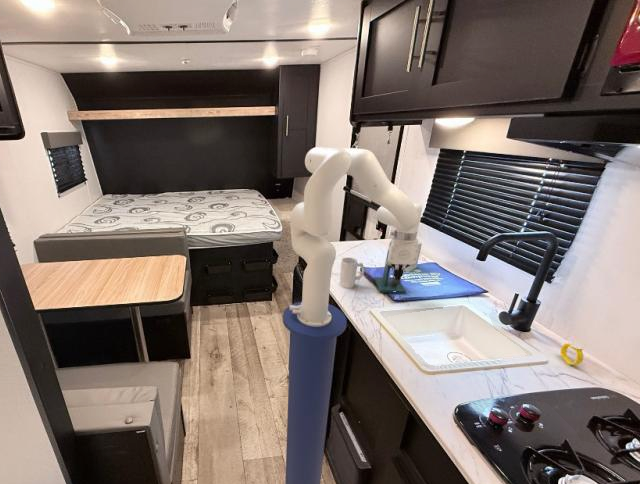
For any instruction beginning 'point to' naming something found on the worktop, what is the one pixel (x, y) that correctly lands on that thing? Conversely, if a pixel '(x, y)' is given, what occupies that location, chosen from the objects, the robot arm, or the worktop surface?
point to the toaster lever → (395, 281)
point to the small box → (416, 261)
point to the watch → (578, 351)
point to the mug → (349, 272)
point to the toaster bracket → (388, 283)
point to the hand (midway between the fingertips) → (397, 277)
